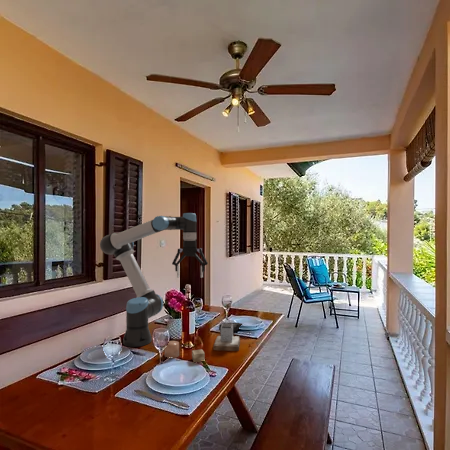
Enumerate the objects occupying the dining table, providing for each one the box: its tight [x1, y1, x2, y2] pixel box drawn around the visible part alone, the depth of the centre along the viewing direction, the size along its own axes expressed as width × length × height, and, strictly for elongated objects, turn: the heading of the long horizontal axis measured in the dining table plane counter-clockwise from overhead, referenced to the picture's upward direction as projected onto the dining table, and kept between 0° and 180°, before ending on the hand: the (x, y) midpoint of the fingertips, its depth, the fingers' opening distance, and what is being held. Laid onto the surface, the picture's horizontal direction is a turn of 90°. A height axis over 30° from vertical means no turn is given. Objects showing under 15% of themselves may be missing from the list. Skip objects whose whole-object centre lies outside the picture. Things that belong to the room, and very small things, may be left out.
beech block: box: [191, 348, 206, 363], centre depth 147 cm, size 5×5×4 cm
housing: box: [220, 322, 234, 343], centre depth 165 cm, size 7×6×8 cm
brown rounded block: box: [164, 340, 180, 359], centre depth 153 cm, size 7×7×6 cm
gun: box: [218, 322, 243, 336], centre depth 185 cm, size 4×20×10 cm, turn 146°
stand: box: [212, 335, 241, 352], centre depth 165 cm, size 13×13×3 cm
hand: (190, 277), depth 177 cm, fingers open, 13 cm apart
